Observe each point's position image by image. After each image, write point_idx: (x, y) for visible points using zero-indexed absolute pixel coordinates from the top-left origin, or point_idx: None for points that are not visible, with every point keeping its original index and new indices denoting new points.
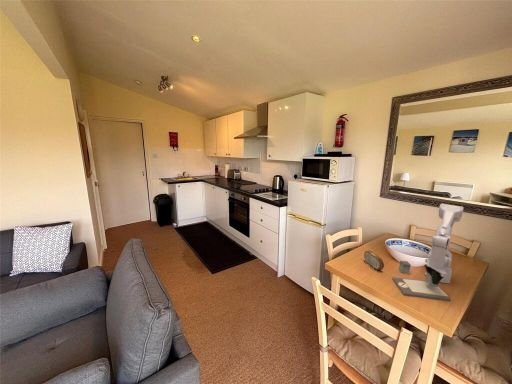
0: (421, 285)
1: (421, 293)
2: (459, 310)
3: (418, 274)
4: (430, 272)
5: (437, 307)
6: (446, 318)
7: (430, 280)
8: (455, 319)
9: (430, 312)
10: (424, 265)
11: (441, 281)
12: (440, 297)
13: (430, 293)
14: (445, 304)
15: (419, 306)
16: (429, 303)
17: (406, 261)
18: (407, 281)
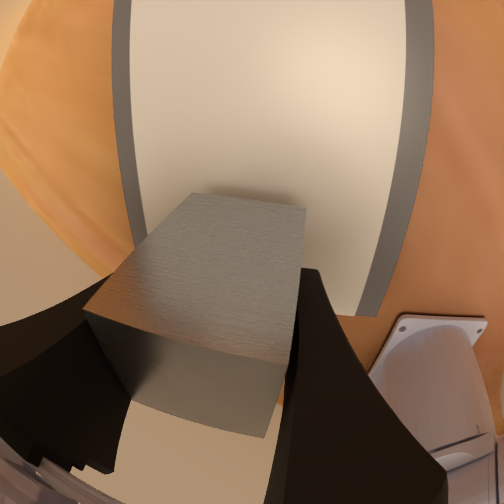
0: (280, 136)
1: (136, 71)
2: (85, 260)
3: (495, 271)
4: (244, 392)
5: (57, 144)
6: (11, 152)
7: (145, 243)
8: (20, 192)
9: (19, 86)
10: (442, 484)
11: (380, 363)
12: (131, 222)
13: (138, 157)
14: (102, 216)
15: (44, 35)
16: (76, 105)
17: None
18: (350, 4)
